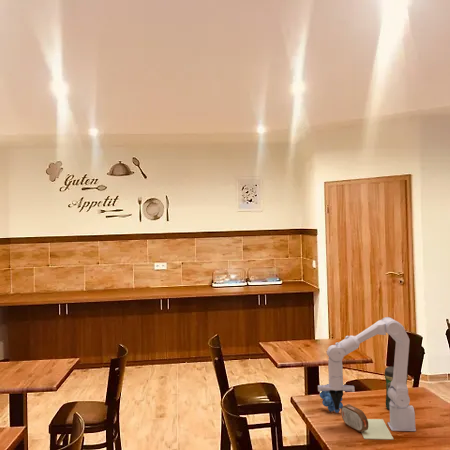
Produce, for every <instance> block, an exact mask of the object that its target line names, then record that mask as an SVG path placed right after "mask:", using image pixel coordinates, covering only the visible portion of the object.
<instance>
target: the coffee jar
mask: <svg viewBox="0 0 450 450" xmlns="http://www.w3.org/2000/svg"><path fill="white" fill-rule="evenodd" d="M393 371H394V366H387V367H385V369H384V379H385V386H386V388H385V389H386V390H385V394H386V395H385V409H387V410H389V411H390V407H389V403H390V398H389V397H388V394H387V392H388V389H389V388H390V384H391V381H392V380H393ZM408 379H409V376H408V373H407V379H406V384H407V383H408ZM407 385H408V384H407Z"/></svg>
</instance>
